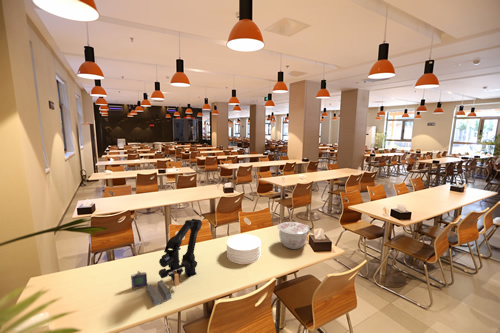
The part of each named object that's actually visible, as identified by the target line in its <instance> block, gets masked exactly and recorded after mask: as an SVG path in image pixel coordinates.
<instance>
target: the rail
mask: <svg viewBox="0 0 500 333" xmlns="http://www.w3.org/2000/svg"><path fill="white" fill-rule="evenodd" d="M145 290H146V294H147V295H148V297H149V299H150V300H151V302H152V304H153V306H154V307H156V306H158V305H161V304H163V303H164V302H166V301H169V300H171V299H172V292H171V290H170V289H169V287H168V286H167V284H166V283H165V282H164V280H163V279H161V280H158V281H157V286H154V287H153V285H152V284H151V283H150V284H147V286H145Z"/></svg>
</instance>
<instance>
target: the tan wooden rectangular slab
mask: <svg viewBox="0 0 500 333" xmlns="http://www.w3.org/2000/svg"><path fill="white" fill-rule="evenodd" d="M173 274H174V282H173V280H172V279H171V282H172V284H174V286H175V287H177V286H179V285H180V277H179V274H178V273H177V272H176V270H175V271H173Z"/></svg>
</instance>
